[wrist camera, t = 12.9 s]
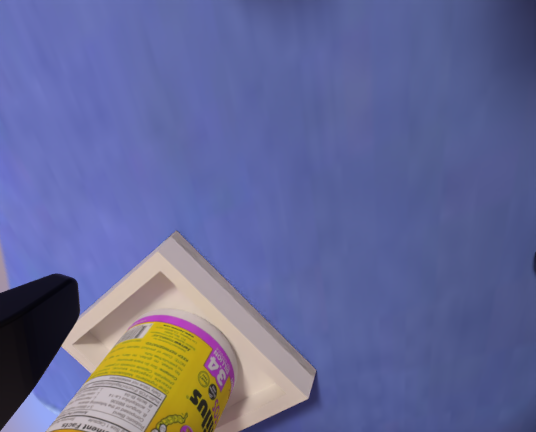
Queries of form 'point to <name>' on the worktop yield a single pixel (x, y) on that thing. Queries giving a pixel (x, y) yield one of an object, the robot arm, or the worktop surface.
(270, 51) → the worktop surface
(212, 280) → the tray
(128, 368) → the supplement bottle
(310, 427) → the worktop surface
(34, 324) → the robot arm
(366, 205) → the worktop surface
